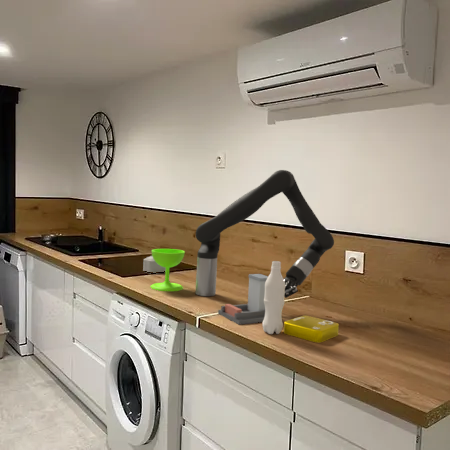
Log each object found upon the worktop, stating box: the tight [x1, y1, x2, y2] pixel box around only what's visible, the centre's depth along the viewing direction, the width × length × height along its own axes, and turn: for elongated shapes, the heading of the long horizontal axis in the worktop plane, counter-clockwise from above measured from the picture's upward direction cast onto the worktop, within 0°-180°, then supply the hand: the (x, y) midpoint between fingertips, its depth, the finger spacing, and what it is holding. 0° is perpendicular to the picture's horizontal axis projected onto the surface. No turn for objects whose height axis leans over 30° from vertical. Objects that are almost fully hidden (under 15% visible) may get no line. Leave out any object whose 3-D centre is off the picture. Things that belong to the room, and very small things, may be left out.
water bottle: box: [261, 260, 285, 335], centre depth 166 cm, size 7×7×25 cm
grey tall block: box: [247, 273, 269, 311], centre depth 187 cm, size 8×5×14 cm, turn 29°
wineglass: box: [149, 248, 186, 292], centre depth 230 cm, size 16×16×18 cm
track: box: [217, 303, 265, 326], centre depth 185 cm, size 16×18×4 cm
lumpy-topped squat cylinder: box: [142, 255, 166, 274], centre depth 273 cm, size 10×13×9 cm
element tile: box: [283, 314, 340, 343], centre depth 168 cm, size 15×15×5 cm
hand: (273, 302), depth 191 cm, fingers closed
